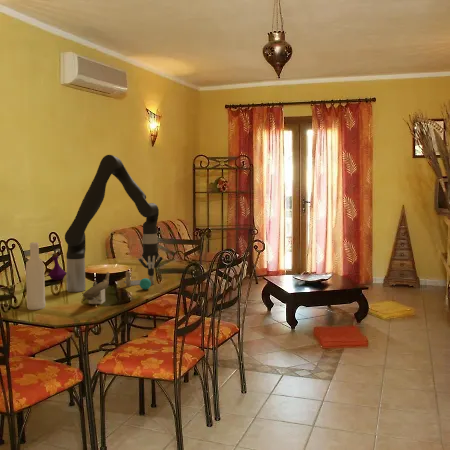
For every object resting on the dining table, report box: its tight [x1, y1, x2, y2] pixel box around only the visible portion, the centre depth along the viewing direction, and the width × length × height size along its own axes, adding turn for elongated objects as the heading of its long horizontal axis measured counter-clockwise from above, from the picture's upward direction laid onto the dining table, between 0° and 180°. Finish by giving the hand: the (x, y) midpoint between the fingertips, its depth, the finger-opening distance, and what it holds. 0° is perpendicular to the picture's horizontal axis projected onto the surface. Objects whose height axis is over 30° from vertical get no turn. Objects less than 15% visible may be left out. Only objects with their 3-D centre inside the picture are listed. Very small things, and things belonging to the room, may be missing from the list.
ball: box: [139, 277, 152, 290], centre depth 278 cm, size 6×6×6 cm
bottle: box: [25, 242, 46, 311], centre depth 238 cm, size 8×8×30 cm
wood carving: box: [82, 271, 110, 305], centre depth 251 cm, size 9×35×11 cm, turn 175°
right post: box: [148, 274, 155, 286], centre depth 290 cm, size 3×3×8 cm
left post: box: [125, 271, 132, 288], centre depth 285 cm, size 3×3×8 cm
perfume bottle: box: [47, 248, 67, 281], centre depth 303 cm, size 8×8×18 cm
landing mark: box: [123, 279, 142, 287], centre depth 295 cm, size 12×12×1 cm
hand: (150, 275), depth 268 cm, fingers closed
